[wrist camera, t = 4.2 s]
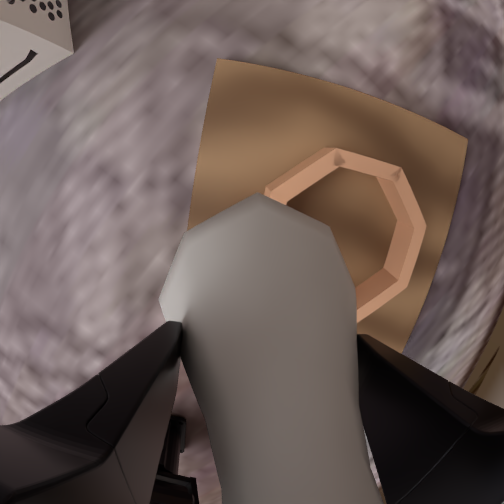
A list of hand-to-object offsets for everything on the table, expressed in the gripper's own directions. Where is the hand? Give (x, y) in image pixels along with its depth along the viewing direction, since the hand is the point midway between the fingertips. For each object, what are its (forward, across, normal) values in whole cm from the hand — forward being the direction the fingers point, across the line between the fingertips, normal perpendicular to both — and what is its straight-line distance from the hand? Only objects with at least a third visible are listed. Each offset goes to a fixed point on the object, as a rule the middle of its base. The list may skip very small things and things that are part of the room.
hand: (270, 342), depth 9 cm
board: (+13, -6, -1) cm, 15 cm away
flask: (+3, 0, 0) cm, 3 cm away
